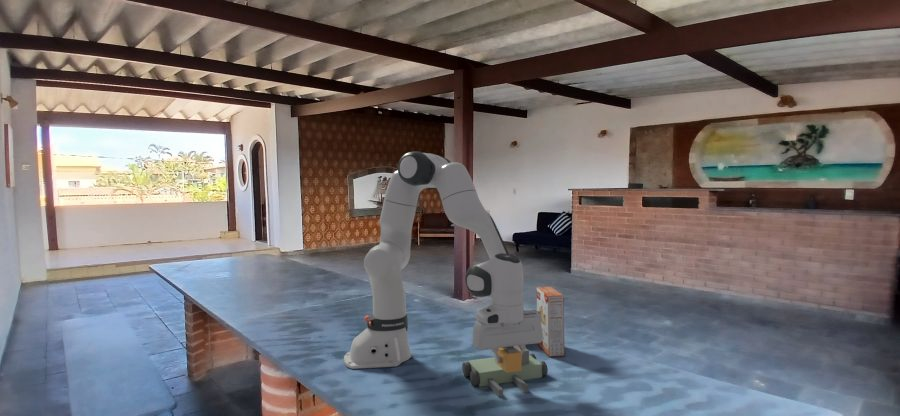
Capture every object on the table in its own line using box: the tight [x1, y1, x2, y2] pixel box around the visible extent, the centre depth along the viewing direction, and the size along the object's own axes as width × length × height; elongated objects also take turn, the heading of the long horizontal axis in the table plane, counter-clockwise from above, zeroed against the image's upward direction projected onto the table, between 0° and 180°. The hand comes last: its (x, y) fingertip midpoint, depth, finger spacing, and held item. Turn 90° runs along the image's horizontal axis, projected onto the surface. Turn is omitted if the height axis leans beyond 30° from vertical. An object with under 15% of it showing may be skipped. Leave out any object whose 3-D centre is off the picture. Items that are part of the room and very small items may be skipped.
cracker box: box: [536, 286, 566, 358], centre depth 161 cm, size 14×6×21 cm, turn 5°
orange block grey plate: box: [496, 346, 522, 373], centre depth 130 cm, size 4×7×6 cm, turn 17°
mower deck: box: [461, 346, 549, 398], centre depth 136 cm, size 23×18×8 cm
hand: (508, 361), depth 130 cm, fingers closed on orange block grey plate, 4 cm apart
